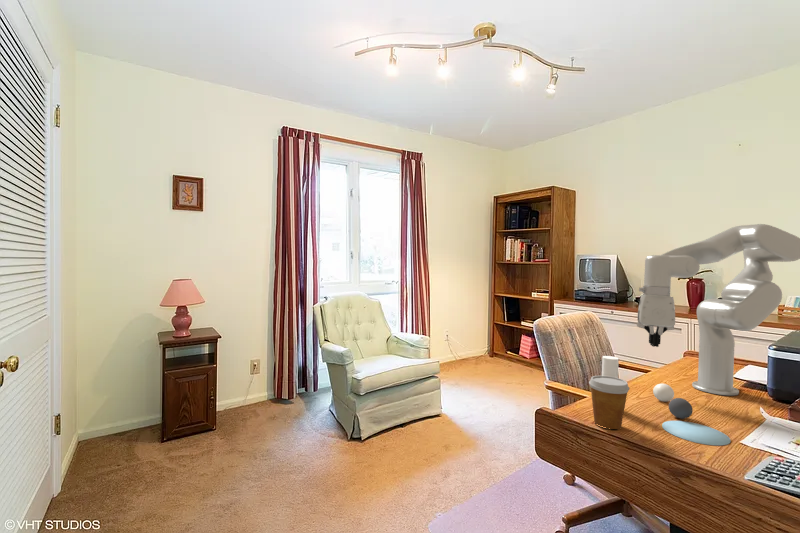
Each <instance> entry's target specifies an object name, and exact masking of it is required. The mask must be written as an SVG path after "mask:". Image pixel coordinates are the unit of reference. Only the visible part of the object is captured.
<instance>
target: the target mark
mask: <svg viewBox="0 0 800 533" xmlns="http://www.w3.org/2000/svg"><path fill="white" fill-rule="evenodd" d="M661 426H662V429H663V430H664V431H666V432H667V433H669V434H670V435H671V436H675V437H677V438H679V439H683V440H685V441H689V442H692V443H696V444H702V445H707V446H719V447H720V446H727V445H730V443H731V438H730V437H729V436H728V435H727V434H725V433H724V432H723V431H720V430H719V429H718V430H717V429H715V428H712V427H711V426H708V425H704V424H700V423H695V422H690V421H684V420H683V421H682V420H667V421H664V422H663V423H662V425H661Z"/></svg>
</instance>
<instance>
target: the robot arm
mask: <svg viewBox="0 0 800 533" xmlns="http://www.w3.org/2000/svg"><path fill="white" fill-rule="evenodd" d="M740 252H742V253H743V261H744V263H743V264H744V265H743V269H742V270H741V271H740V272H739V273H738V274H737V275H736V276H735V277H734V278H733V279H732V280H730V281H729V282H728V283H727V284H725V286H724V287H723V288H722V291H721V292H720V297H721V298H708V299H707V298H706V299H705V300H703V301H701V302H700V303H699V304H698V305H697V307H696V317H697V318H696V319H697V323H698V331H699V332H698V333H699V336H698V337H699V338H698V339H699V340H698V343H699V344H698V372H697V380H695V381H692V383H691V386H692V387H693V388H694V389H695V390H696V389H697V390H698V391H701V392H705V393H709V394H714V395H719V396H738V395H740V390H739V389H738V388H736V387H735V386H734V369H735V368H734V366H735V364H734V363H735V347H736V346H735V345H736V344H735V337H734V334H733V333H732V330H734V331H739V332H740V331H741V332H748V331H752V330H754V329H755V328H757V327H758V326H759V325H761V324H762V323H763V322H764V321H765V320H766V319H767V318H768V317H769V316H770V315H771V314H772V313H774V311H775V310H777V308H778V307H779V306H780V304H781V302H782V298H783V293H782V288H781V287H780V286H779V285H778V284H776V283H775V282H772V281H773V277H774V275H773V272H772V270H771V268H770V266H769V263H770V262H771V263H773V262H775V263H776V262H777V263H780V262H781V263H783V262H784V263H790V262H795V261H798V260H800V237H799V236H796V235H795V234H793V233H790V232H787V231H785V230H783V229H781V228H779V227H776V226H773V225H769V224H764V223H757V224H745V225H744V224H743V225H737V226H736V225H735V226H733V227H731V228H728V229H726V230H724V231H722V232H718V233H717V234H715V235H713V236H711V237H708V238H706V239H704V240H701V241H696V242H693V243H690V244H687V245H684V246H680V247H678V248H674V249H671V250H669V251H667V252H665V253H662V254H653V255H647V256H646V257H645V259H644V274H643V276H644V279H643V286H642V287H639V288H638V291H639V292H641V293H642V294H641V296H640V299H639V303H638V309H637V323H636V327H638V328H641V329H644V330H645V331H646V332H647V333H648V343H649V344H650V346H651V347H656V348H658V347H660V345H661V338H662V337H661V336H662V335H663V334H664V333H665V332H667V331H674V330H675V326H676V309H675V308H676V306H675V300H674V296H671V284H672V283H671V282H672V278H679V279H687V278H692V277H694V276H696V275H697V274H698V272H699V271H700V265H709V264H714V263H719V262H721V261H723V260H725V259H728V258H730V257H731V256H733V255H736V254H738V253H740ZM654 327H656V329H655V328H654Z"/></svg>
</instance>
